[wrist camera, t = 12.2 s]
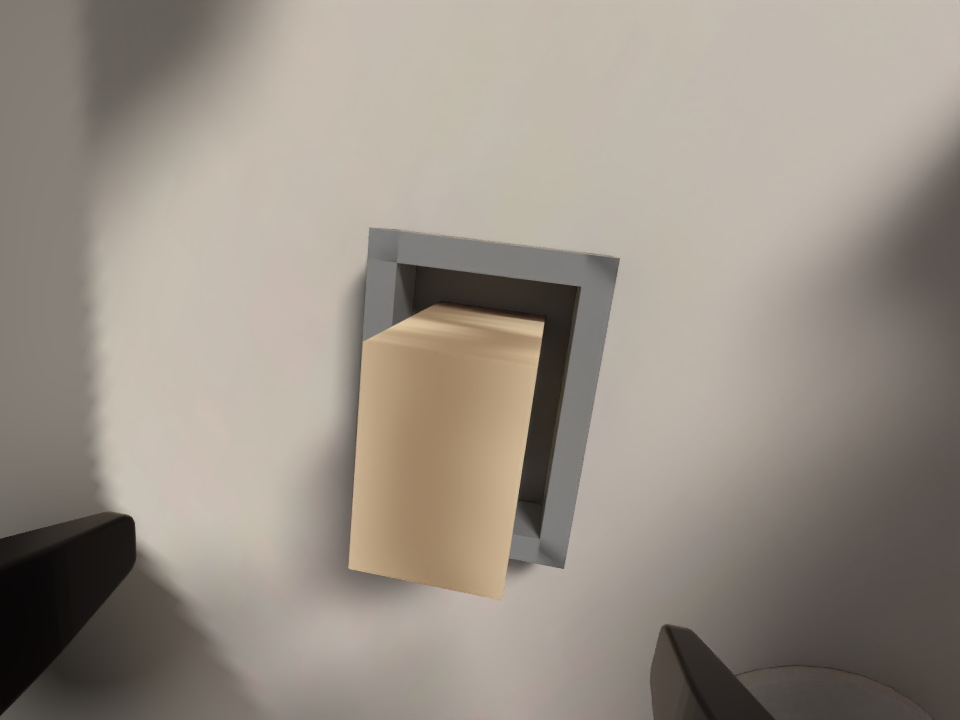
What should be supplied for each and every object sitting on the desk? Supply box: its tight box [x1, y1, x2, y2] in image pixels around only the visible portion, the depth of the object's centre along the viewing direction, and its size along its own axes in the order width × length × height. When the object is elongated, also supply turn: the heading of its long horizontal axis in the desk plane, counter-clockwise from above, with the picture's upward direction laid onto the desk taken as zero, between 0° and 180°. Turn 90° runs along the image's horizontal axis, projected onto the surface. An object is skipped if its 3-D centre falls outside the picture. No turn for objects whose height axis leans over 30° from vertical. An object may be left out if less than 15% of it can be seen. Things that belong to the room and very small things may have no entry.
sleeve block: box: [348, 301, 545, 600], centre depth 16 cm, size 4×6×8 cm, turn 173°
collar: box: [351, 228, 620, 569], centre depth 19 cm, size 11×8×2 cm
